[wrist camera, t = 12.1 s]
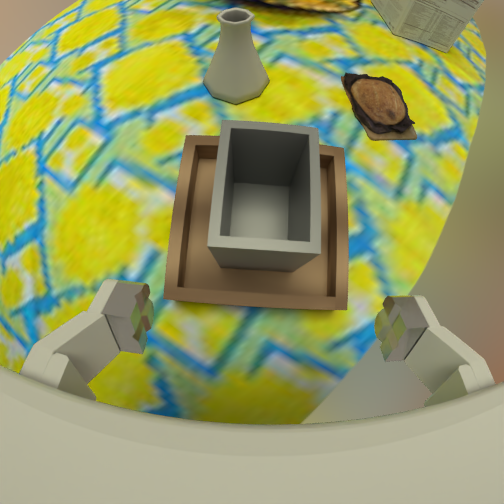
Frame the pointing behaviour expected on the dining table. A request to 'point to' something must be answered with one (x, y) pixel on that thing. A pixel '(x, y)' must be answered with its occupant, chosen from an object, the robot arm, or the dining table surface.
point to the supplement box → (428, 19)
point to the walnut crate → (254, 281)
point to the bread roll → (379, 107)
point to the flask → (235, 60)
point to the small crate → (266, 197)
